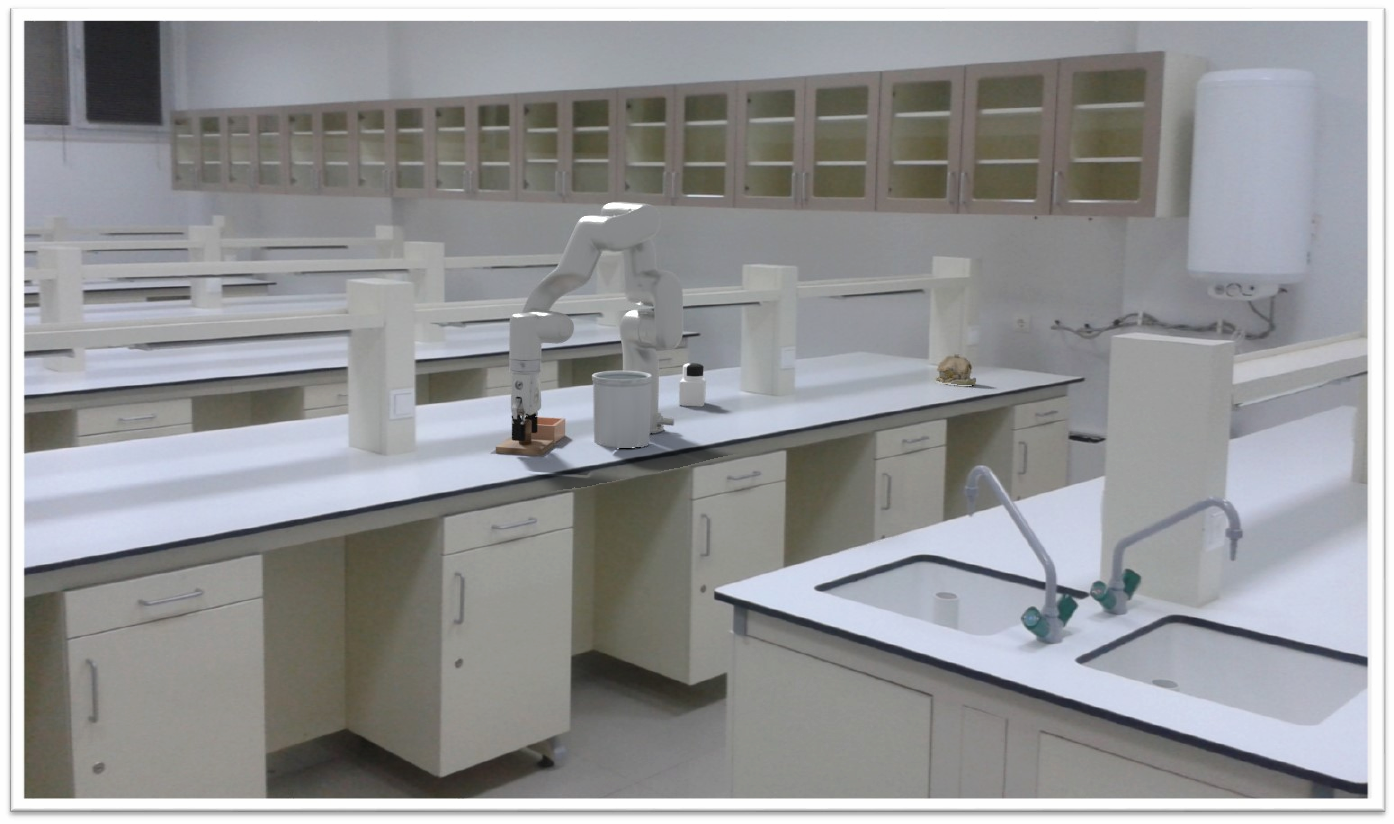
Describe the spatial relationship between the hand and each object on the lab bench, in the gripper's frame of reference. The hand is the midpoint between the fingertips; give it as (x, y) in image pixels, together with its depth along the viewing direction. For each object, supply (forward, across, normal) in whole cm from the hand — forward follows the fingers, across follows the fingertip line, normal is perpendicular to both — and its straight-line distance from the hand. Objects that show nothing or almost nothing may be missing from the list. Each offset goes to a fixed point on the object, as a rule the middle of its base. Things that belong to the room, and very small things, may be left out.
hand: (524, 436), depth 302 cm
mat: (+4, 0, 0) cm, 4 cm away
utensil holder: (+4, +16, -20) cm, 26 cm away
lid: (+3, 0, 0) cm, 3 cm away
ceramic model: (+3, +141, -106) cm, 176 cm away
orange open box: (+4, +13, 0) cm, 14 cm away
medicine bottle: (+4, +75, -28) cm, 80 cm away
